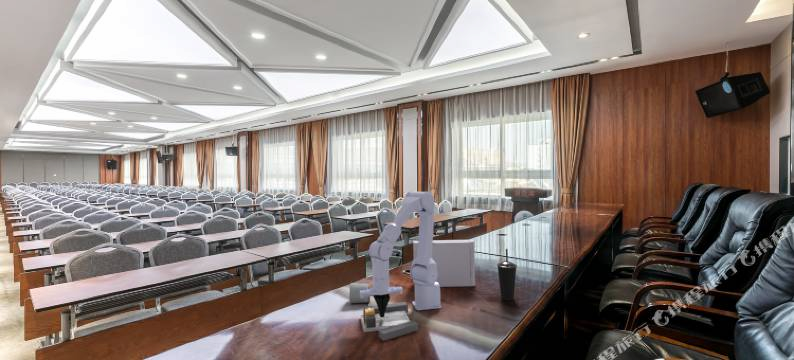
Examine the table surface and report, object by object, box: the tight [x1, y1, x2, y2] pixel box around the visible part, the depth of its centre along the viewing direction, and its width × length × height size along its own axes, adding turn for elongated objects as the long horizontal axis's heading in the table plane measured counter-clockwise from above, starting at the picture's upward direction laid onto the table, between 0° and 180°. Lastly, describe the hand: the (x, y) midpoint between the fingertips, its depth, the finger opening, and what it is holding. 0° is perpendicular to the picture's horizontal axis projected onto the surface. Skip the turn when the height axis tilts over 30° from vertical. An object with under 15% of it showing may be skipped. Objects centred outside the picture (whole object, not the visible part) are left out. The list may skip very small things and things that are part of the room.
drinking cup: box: [496, 248, 518, 302], centre depth 140 cm, size 8×8×20 cm
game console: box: [412, 239, 476, 288], centre depth 159 cm, size 6×27×20 cm, turn 89°
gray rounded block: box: [348, 282, 371, 304], centre depth 142 cm, size 11×8×8 cm
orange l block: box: [365, 308, 375, 321], centre depth 120 cm, size 3×3×4 cm
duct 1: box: [371, 301, 409, 314], centre depth 130 cm, size 13×3×3 cm, turn 106°
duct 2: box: [378, 320, 419, 342], centre depth 113 cm, size 13×3×2 cm, turn 121°
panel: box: [360, 305, 411, 333], centre depth 121 cm, size 16×11×4 cm
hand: (381, 316), depth 121 cm, fingers closed
